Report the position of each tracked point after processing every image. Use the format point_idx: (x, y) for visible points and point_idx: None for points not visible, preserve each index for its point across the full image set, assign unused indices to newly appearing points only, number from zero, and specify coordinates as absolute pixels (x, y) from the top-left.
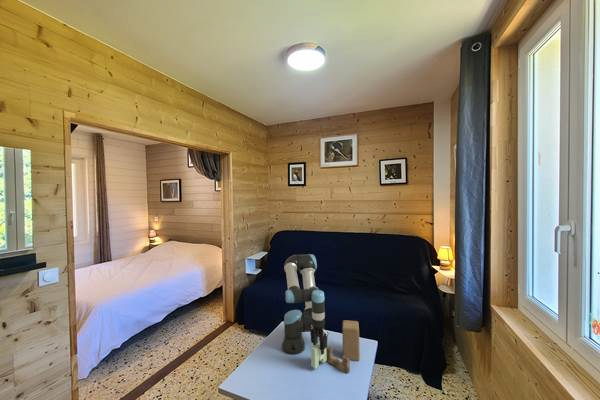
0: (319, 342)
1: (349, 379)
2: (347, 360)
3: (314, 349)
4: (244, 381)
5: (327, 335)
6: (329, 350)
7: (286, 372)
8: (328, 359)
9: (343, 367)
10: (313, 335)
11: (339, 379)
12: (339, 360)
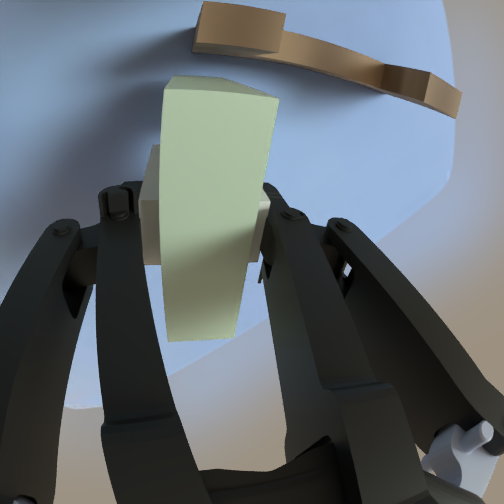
0: (167, 194)
1: (404, 129)
2: (451, 114)
3: (226, 337)
4: (67, 388)
5: (490, 395)
6: (266, 51)
7: (93, 305)
8: (226, 53)
9: (378, 89)
10: (50, 348)
11: (362, 159)
12: (343, 49)
